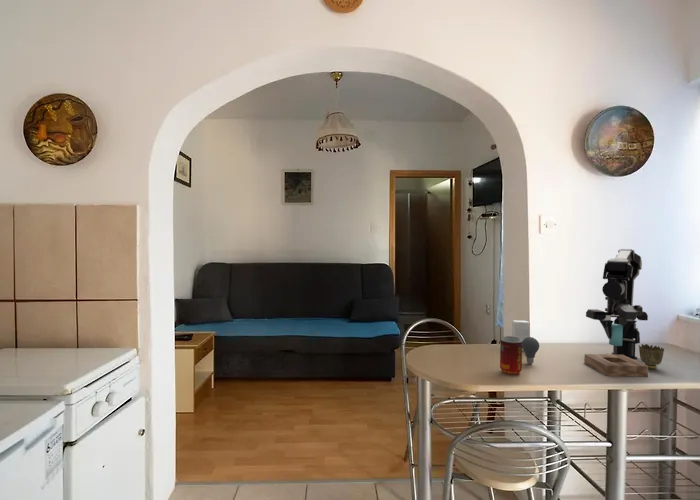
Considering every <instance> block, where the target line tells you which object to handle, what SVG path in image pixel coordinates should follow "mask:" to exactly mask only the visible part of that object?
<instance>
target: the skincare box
mask: <svg viewBox="0 0 700 500" xmlns="http://www.w3.org/2000/svg"><path fill="white" fill-rule="evenodd" d="M530 323H531V322H530V321H528V320H518V319H516V320H514V319H512V321H511V336H513V337H517V338H519V339H521V340H522V341H523V340H524V339H525V338H527V337H530V325H531V324H530ZM522 352H524V350H523V348H522Z"/></svg>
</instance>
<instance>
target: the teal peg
mask: <svg viewBox="0 0 700 500" xmlns="http://www.w3.org/2000/svg"><path fill="white" fill-rule="evenodd" d="M622 337H623V325H620V324H614V323H612V325H611V339H609V338H608V345H611V346H613V345H614V346H622Z"/></svg>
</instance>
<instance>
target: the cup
mask: <svg viewBox="0 0 700 500" xmlns="http://www.w3.org/2000/svg"><path fill="white" fill-rule="evenodd" d="M638 348H639V349H638V350H639V351H638V352H639V357H640V360H641V363H642V364H644V365H647V366H648V370H652V369H655V370H656V369H657V368H658V366H659V365H661V364H662V361H663V358H664V353H665V347H660V346H659V345H658V346H657V345H654V346H653V344H651V345H649V344H647V343H645V344H643V343H642V344H641V345H640V344H639V345H638Z"/></svg>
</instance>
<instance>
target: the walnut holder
mask: <svg viewBox="0 0 700 500" xmlns="http://www.w3.org/2000/svg"><path fill="white" fill-rule="evenodd" d="M584 364H585V365H586V366H588V367H590V368H592V369H594V370H596V371H597V372H599V373H601V374H602V375H604V376H606V377H647V378H648V377H649V369H648V366H647V365H645V363H643V362H641V361H640V362H639V361H638V360H636V359H632V358H629V357H627V356H624V355H613V354H612V353H611V354H608V353H606V354H604V353H603V354H602V353H597V354H596V353H585V354H584Z"/></svg>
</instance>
